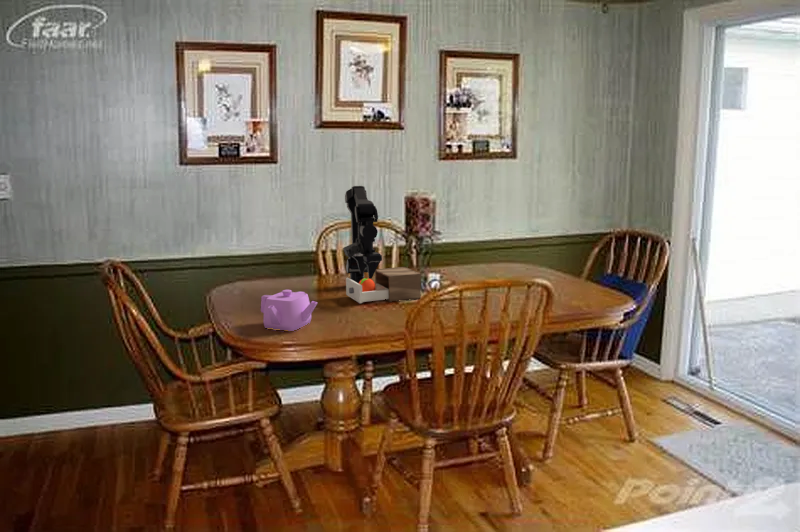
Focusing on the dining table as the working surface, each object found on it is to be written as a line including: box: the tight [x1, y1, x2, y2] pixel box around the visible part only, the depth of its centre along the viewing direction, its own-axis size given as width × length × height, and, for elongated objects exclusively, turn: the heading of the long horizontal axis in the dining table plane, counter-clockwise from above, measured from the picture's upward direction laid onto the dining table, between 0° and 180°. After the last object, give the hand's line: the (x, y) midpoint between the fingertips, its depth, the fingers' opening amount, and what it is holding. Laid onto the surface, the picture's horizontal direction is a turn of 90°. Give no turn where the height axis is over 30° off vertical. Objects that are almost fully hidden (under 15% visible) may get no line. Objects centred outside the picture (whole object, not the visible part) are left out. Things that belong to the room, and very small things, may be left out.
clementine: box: [359, 277, 376, 292], centre depth 277 cm, size 8×7×7 cm
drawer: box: [345, 277, 389, 304], centre depth 278 cm, size 15×14×7 cm
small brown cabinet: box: [374, 266, 422, 303], centre depth 283 cm, size 15×13×10 cm
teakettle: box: [260, 289, 318, 332], centre depth 242 cm, size 17×17×12 cm
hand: (365, 276), depth 277 cm, fingers open, 9 cm apart
